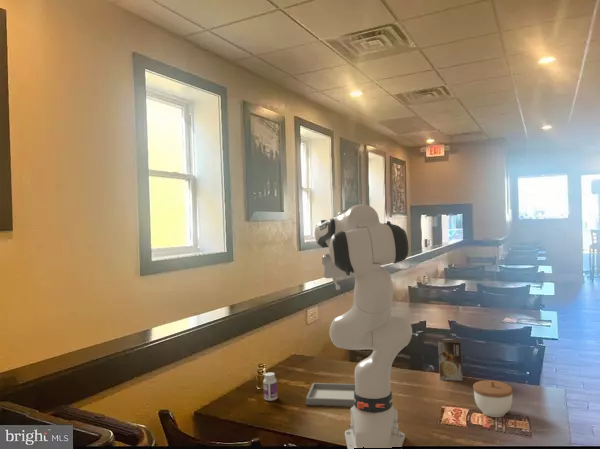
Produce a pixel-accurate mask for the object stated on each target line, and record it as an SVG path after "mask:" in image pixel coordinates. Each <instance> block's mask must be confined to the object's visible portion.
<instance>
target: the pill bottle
mask: <svg viewBox="0 0 600 449" xmlns="http://www.w3.org/2000/svg"><path fill="white" fill-rule="evenodd" d="M275 375H276V374H275V372H269V371H268V372H266V373H264V379H263V381H262V386H263V388H262V389H263V399H264V400H265V401H269V402H271V401H276V400H277V399H278V395H279V394H278V381H277V378H276V376H275Z"/></svg>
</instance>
